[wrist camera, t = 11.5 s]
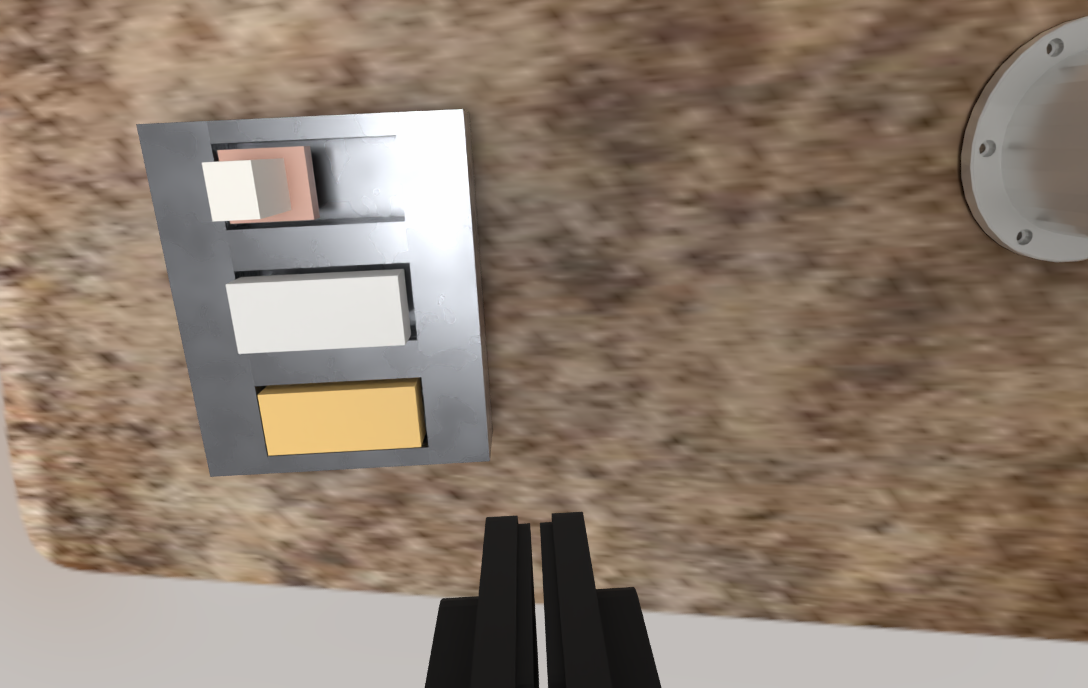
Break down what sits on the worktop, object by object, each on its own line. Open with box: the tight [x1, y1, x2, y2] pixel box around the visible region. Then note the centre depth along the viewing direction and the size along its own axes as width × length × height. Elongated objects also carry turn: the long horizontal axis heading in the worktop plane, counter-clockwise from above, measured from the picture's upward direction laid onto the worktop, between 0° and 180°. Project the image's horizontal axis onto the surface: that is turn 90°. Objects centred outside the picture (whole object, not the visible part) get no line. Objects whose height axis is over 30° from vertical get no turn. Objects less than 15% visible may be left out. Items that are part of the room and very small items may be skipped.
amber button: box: [258, 377, 426, 456], centre depth 35 cm, size 8×3×2 cm, turn 93°
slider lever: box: [202, 146, 320, 224], centre depth 30 cm, size 4×3×5 cm
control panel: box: [136, 109, 493, 477], centre depth 35 cm, size 15×18×4 cm
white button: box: [226, 269, 411, 354], centre depth 33 cm, size 8×3×2 cm, turn 93°
